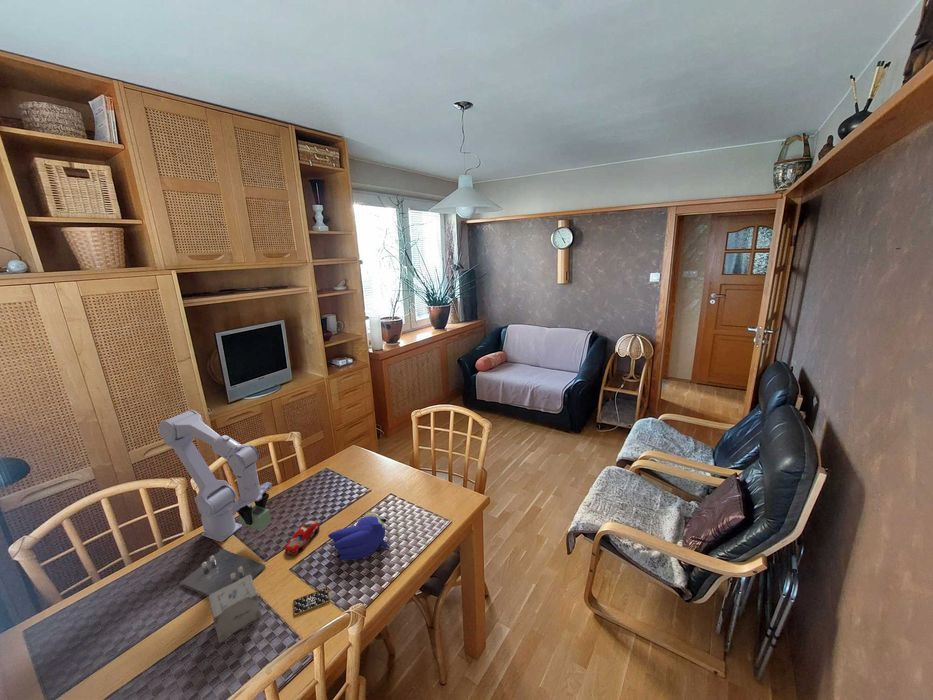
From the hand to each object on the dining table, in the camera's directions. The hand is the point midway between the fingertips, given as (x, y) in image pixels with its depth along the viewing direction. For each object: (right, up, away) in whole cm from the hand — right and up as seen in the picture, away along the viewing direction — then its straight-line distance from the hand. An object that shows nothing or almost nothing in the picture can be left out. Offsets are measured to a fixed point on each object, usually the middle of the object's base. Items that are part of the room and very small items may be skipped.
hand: (255, 519), depth 121 cm
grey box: (+10, -16, -25) cm, 31 cm away
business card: (+27, -14, -19) cm, 36 cm away
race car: (+15, -8, +2) cm, 17 cm away
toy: (+36, -9, -1) cm, 37 cm away
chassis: (-3, -12, -11) cm, 16 cm away
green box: (0, -1, 0) cm, 2 cm away
